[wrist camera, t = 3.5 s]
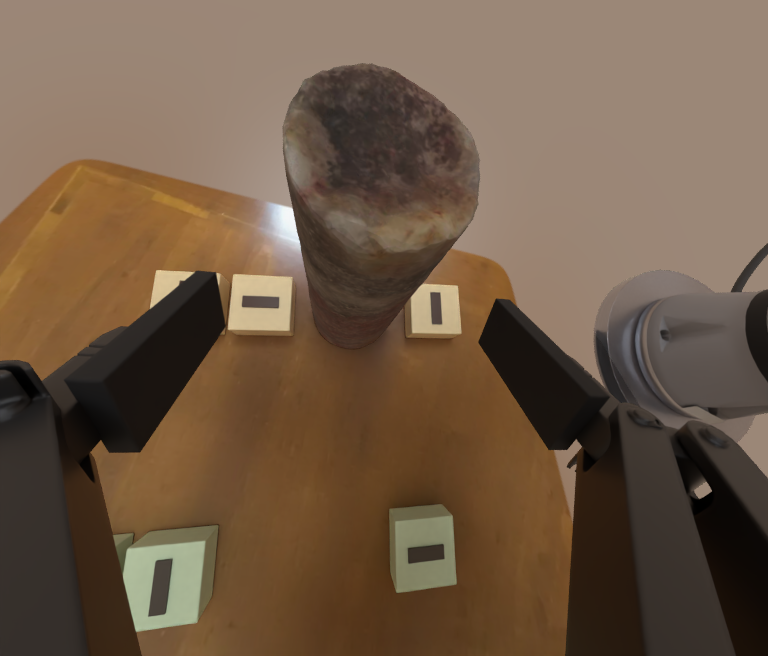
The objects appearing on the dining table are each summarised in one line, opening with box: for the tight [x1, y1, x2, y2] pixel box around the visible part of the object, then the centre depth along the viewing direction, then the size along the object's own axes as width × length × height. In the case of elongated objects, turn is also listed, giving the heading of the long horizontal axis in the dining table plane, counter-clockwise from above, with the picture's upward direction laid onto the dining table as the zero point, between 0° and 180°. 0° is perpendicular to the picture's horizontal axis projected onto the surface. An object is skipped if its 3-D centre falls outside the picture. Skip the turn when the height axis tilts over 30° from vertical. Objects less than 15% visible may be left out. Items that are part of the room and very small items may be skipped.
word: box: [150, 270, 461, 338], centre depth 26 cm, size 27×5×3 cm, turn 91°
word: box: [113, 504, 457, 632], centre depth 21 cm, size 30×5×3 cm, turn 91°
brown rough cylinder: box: [283, 63, 480, 349], centre depth 18 cm, size 8×7×20 cm
